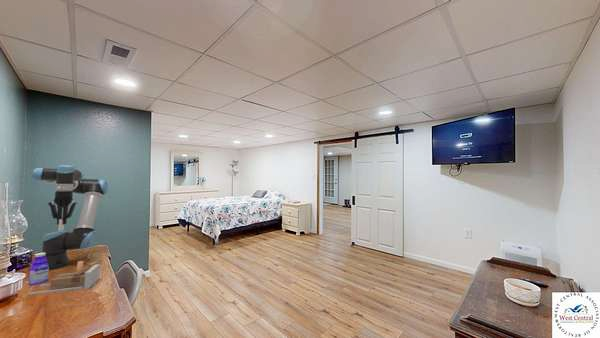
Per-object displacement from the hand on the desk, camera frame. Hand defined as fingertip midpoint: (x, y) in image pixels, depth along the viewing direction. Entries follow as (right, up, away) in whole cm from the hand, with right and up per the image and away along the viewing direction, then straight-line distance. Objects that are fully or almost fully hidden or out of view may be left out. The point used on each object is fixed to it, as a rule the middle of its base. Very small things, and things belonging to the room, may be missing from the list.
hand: (61, 229), depth 140 cm
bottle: (-4, -29, -9) cm, 31 cm away
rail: (+15, -29, -13) cm, 35 cm away
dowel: (+21, -27, -11) cm, 36 cm away
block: (+18, -28, -12) cm, 35 cm away
